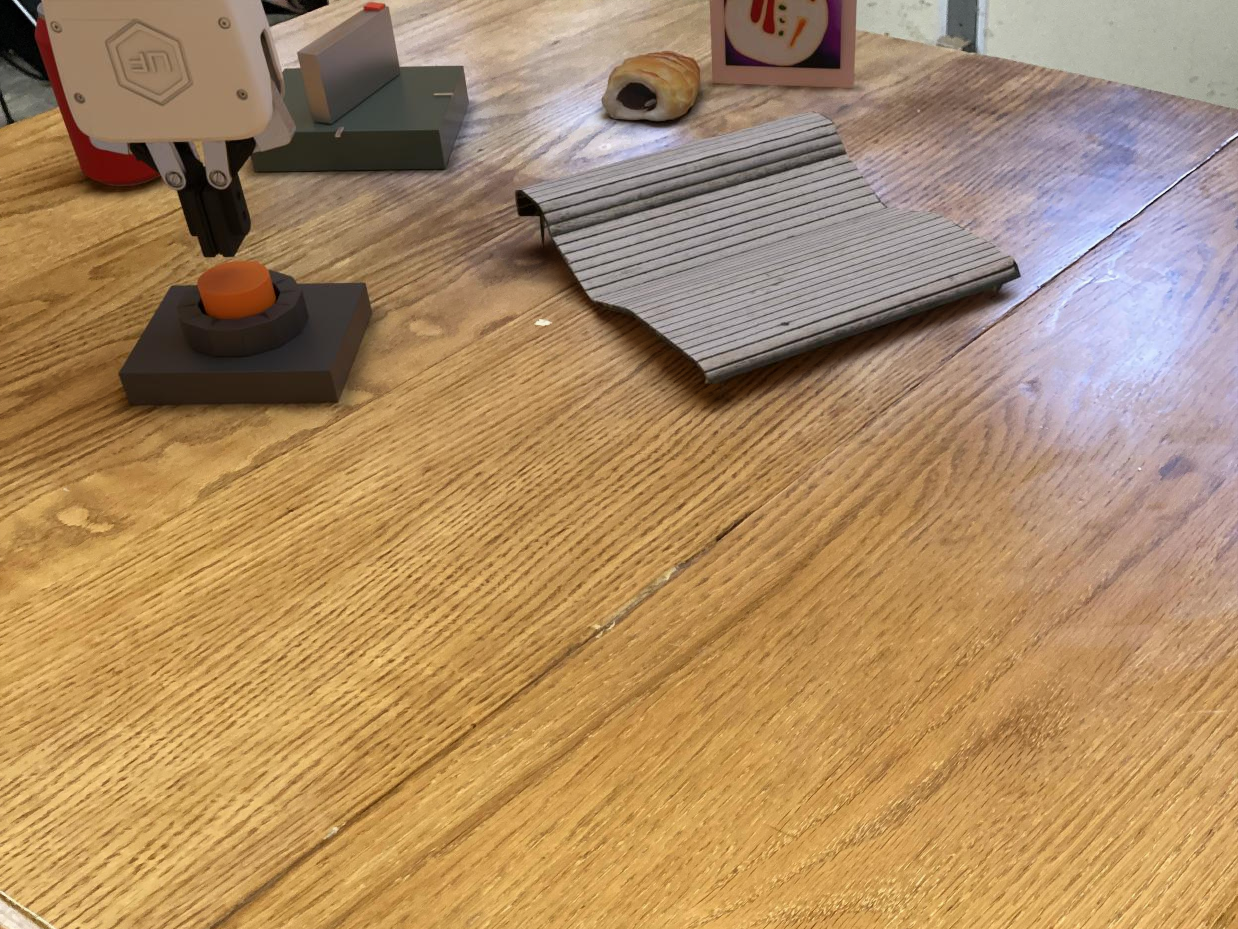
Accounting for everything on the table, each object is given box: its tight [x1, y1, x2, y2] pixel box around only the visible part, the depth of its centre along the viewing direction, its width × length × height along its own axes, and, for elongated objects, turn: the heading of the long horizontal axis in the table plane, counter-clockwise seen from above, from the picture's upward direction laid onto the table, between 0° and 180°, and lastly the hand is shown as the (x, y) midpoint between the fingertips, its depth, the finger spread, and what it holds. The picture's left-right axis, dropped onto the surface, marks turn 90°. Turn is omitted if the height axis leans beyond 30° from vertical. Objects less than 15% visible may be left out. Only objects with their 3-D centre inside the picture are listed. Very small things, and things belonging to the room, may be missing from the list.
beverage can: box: [34, 1, 161, 187], centre depth 100 cm, size 7×7×12 cm
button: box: [196, 260, 276, 319], centre depth 82 cm, size 4×4×2 cm
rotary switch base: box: [250, 65, 470, 173], centre depth 107 cm, size 14×14×3 cm
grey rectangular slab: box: [296, 1, 401, 124], centre depth 105 cm, size 10×2×5 cm, turn 160°
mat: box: [514, 111, 1022, 398], centre depth 91 cm, size 23×24×5 cm
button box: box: [117, 269, 373, 406], centre depth 84 cm, size 12×10×4 cm
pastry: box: [600, 50, 701, 122], centre depth 111 cm, size 9×7×4 cm
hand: (226, 245), depth 80 cm, fingers closed
